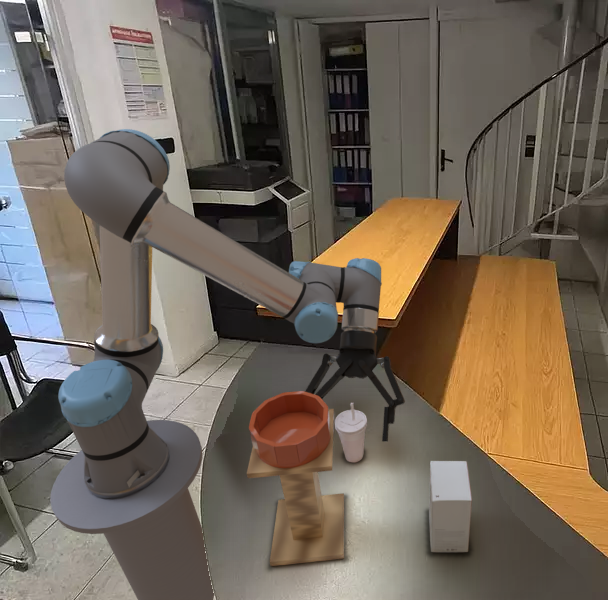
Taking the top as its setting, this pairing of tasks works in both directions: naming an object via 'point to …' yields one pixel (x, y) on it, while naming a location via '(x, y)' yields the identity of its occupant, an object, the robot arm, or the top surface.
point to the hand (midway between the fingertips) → (350, 439)
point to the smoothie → (352, 433)
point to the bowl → (290, 429)
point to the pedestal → (304, 511)
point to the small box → (449, 506)
